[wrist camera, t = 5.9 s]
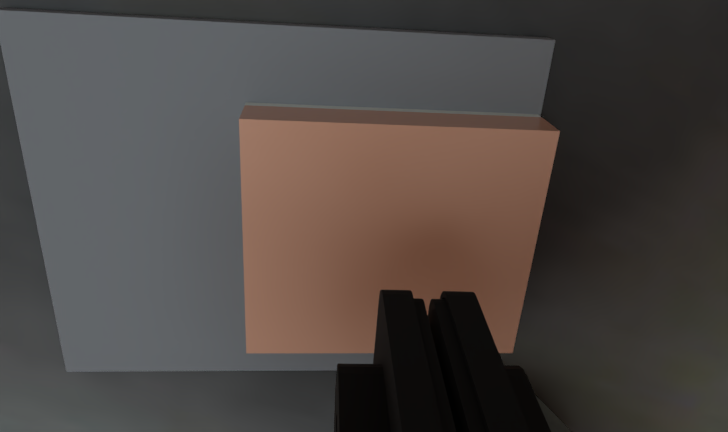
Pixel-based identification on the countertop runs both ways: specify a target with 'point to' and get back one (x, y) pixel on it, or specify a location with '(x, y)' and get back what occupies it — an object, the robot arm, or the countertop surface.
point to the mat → (199, 159)
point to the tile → (384, 217)
